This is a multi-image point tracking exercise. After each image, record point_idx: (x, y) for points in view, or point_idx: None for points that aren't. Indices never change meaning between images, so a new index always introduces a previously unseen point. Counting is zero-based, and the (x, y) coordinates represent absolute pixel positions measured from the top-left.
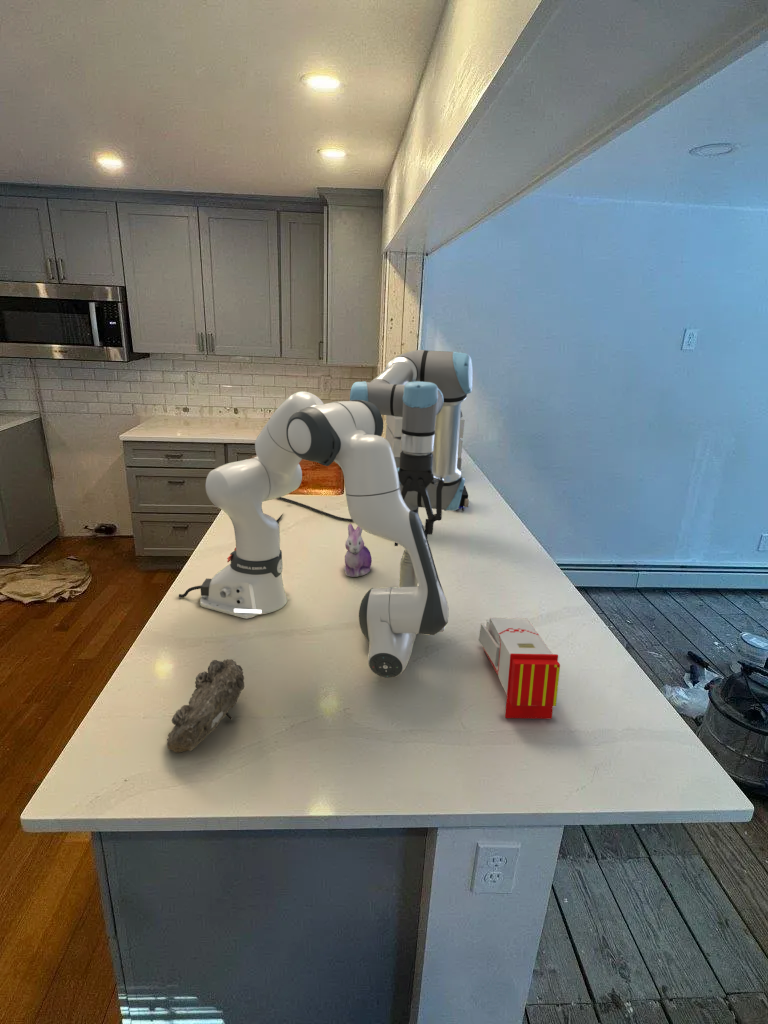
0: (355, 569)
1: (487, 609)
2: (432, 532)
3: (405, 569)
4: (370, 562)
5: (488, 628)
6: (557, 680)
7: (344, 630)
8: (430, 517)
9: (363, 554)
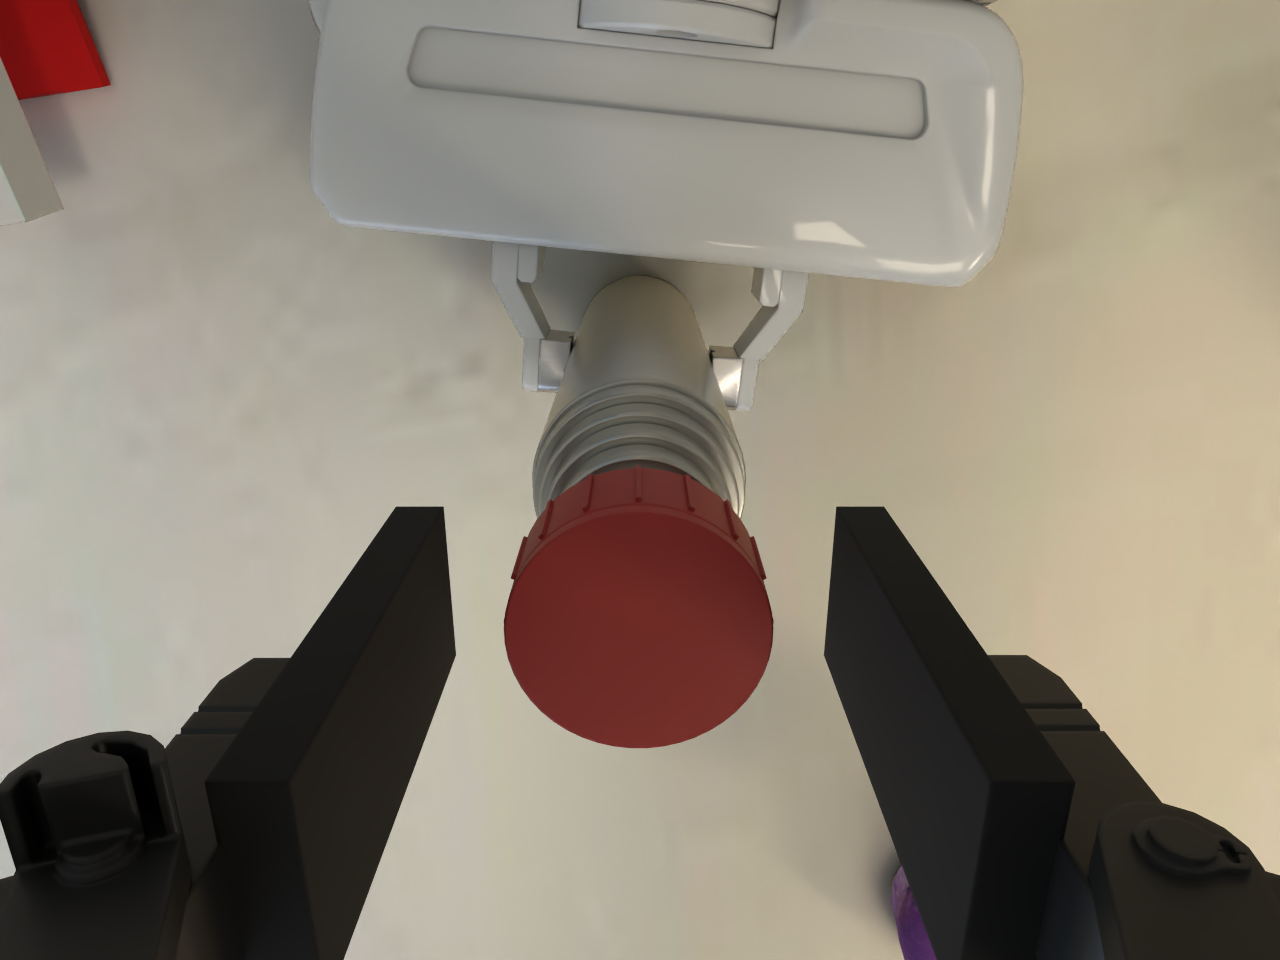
0: None
1: (146, 568)
2: (224, 684)
3: (680, 375)
4: (909, 922)
5: (12, 135)
6: None
7: (1042, 157)
8: (76, 920)
9: None
